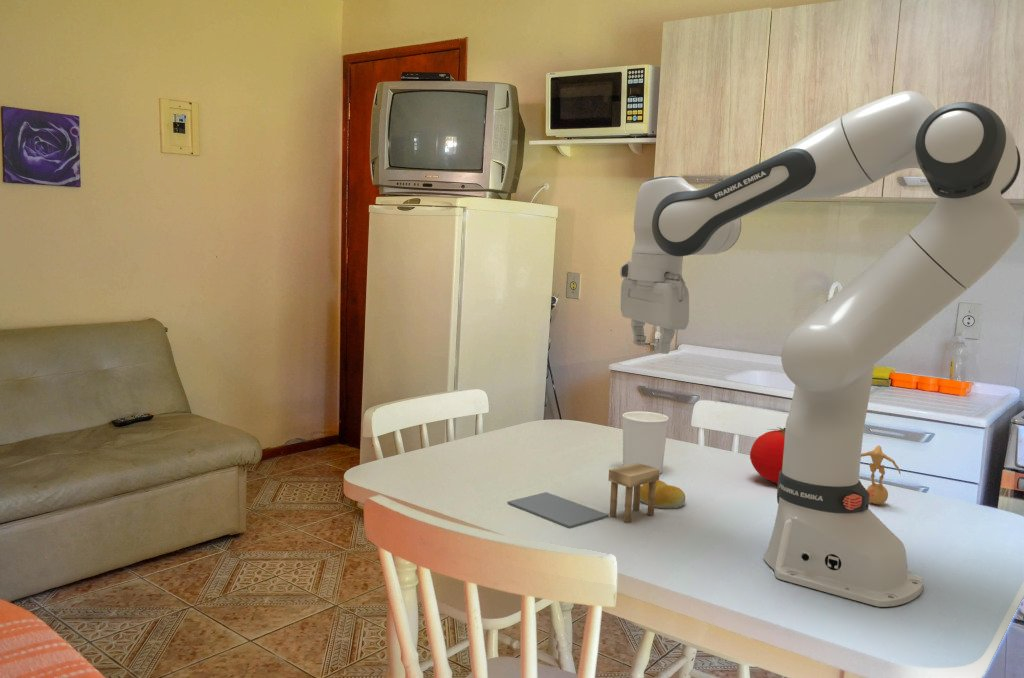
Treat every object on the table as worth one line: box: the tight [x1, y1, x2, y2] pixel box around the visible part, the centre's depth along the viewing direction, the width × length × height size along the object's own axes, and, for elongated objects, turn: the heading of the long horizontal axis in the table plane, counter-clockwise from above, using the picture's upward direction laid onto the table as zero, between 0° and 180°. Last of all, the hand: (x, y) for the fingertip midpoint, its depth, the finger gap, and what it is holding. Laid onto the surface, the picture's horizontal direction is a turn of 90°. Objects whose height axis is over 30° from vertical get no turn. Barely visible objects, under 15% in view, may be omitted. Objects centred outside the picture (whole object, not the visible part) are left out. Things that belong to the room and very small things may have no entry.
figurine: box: [861, 445, 901, 506], centre depth 158 cm, size 8×6×12 cm
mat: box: [507, 491, 610, 529], centre depth 149 cm, size 16×10×1 cm, turn 42°
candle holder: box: [622, 410, 670, 475], centre depth 177 cm, size 10×10×12 cm
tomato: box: [749, 426, 786, 484], centre depth 172 cm, size 12×14×12 cm
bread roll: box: [640, 479, 686, 510], centre depth 156 cm, size 8×9×4 cm
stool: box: [608, 463, 660, 524], centre depth 147 cm, size 5×8×8 cm, turn 132°
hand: (650, 349), depth 145 cm, fingers open, 8 cm apart
